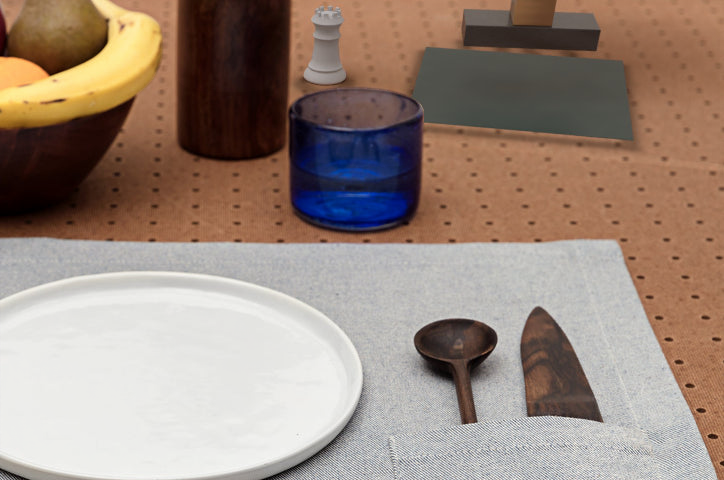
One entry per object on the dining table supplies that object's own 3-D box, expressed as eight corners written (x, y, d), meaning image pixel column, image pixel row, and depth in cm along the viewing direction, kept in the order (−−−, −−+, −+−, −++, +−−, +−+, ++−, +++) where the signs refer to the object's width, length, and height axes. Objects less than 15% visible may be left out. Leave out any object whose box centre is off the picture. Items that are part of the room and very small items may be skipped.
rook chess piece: (335, 77, 111) (339, 0, 106) (353, 93, 107) (359, 13, 103) (295, 83, 110) (298, 5, 105) (312, 99, 106) (316, 19, 102)
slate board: (620, 71, 111) (623, 60, 110) (630, 152, 95) (633, 140, 94) (424, 57, 115) (425, 46, 115) (403, 132, 100) (404, 120, 99)
